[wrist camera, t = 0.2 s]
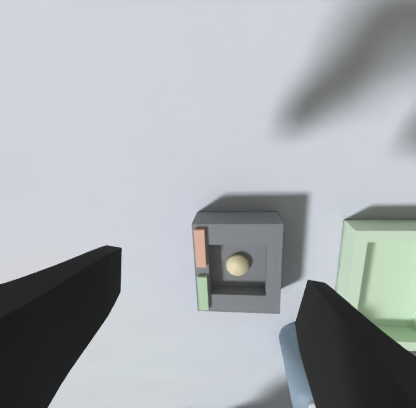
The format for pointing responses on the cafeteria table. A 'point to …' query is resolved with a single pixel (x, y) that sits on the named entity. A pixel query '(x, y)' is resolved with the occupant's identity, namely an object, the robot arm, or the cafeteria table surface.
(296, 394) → the cell
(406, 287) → the trough
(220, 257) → the grey button box
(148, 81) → the cafeteria table surface
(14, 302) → the robot arm
